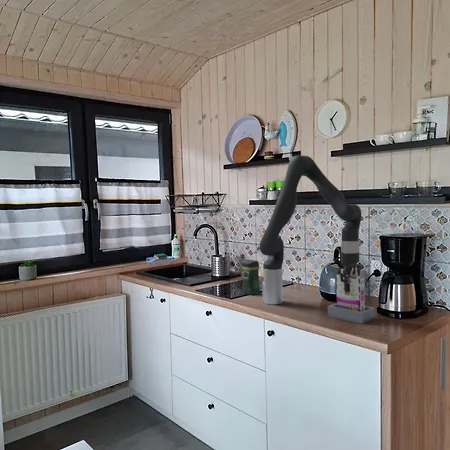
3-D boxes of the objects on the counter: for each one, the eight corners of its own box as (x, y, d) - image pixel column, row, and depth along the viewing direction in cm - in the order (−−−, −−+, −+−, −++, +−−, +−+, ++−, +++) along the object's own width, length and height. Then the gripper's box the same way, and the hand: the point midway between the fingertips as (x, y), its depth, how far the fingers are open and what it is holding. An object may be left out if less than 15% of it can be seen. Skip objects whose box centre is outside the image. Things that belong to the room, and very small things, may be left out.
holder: (327, 316, 182) (327, 306, 182) (340, 311, 189) (340, 301, 189) (362, 323, 170) (362, 313, 170) (374, 318, 177) (374, 307, 177)
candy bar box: (365, 314, 177) (365, 276, 176) (360, 316, 174) (359, 278, 173) (342, 309, 185) (341, 273, 184) (336, 312, 182) (335, 274, 181)
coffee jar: (262, 293, 228) (261, 259, 226) (251, 296, 223) (250, 261, 222) (250, 290, 235) (249, 258, 234) (239, 293, 230) (239, 259, 229)
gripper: (351, 248, 185) (351, 286, 186) (333, 252, 175) (333, 292, 177) (366, 250, 180) (367, 288, 181) (349, 253, 170) (349, 295, 171)
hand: (350, 290), depth 179 cm, fingers closed on candy bar box, 5 cm apart
